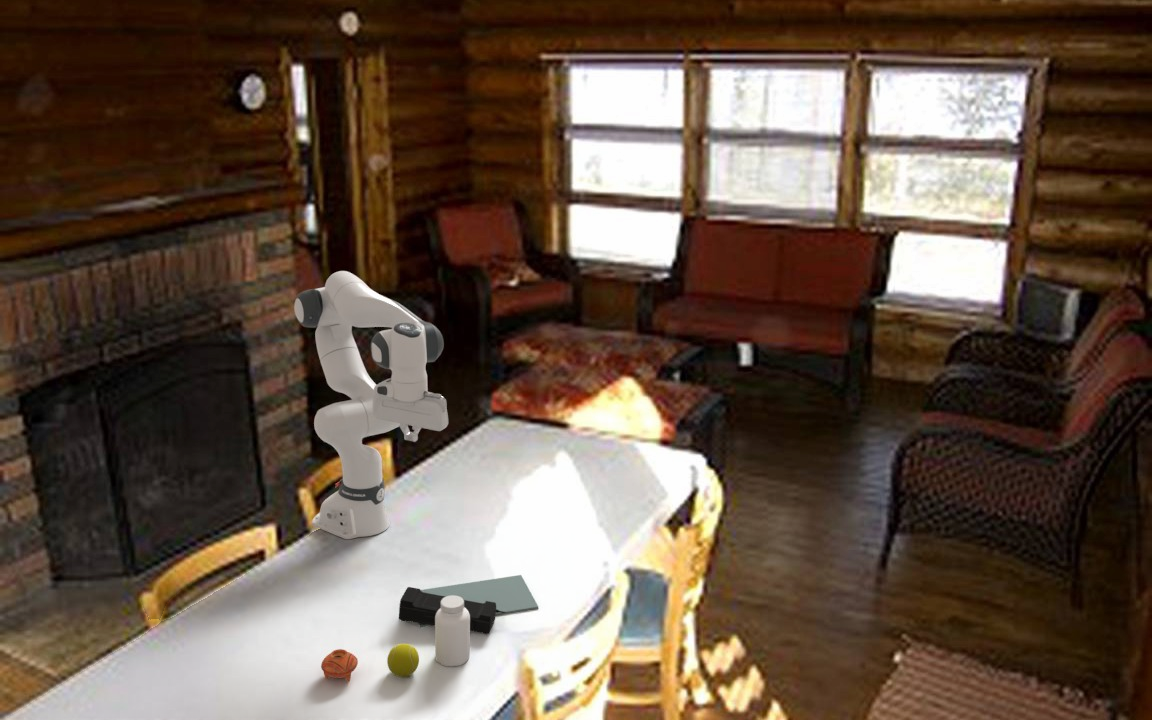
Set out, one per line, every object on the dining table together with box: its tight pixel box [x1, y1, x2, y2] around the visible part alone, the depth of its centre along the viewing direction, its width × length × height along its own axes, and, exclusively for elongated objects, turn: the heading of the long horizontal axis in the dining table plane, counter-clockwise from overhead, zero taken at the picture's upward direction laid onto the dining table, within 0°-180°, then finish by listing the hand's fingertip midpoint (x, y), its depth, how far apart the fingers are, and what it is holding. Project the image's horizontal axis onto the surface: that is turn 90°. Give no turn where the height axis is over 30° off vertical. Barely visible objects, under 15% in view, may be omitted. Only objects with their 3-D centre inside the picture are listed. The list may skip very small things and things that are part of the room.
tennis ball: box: [386, 643, 420, 678], centre depth 229 cm, size 7×7×7 cm
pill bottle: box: [434, 595, 471, 667], centre depth 234 cm, size 8×8×15 cm
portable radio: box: [398, 586, 506, 635], centre depth 248 cm, size 8×6×25 cm
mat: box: [417, 574, 539, 629], centre depth 259 cm, size 30×16×1 cm, turn 109°
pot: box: [320, 648, 359, 683], centre depth 227 cm, size 8×8×7 cm
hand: (411, 440), depth 257 cm, fingers closed
